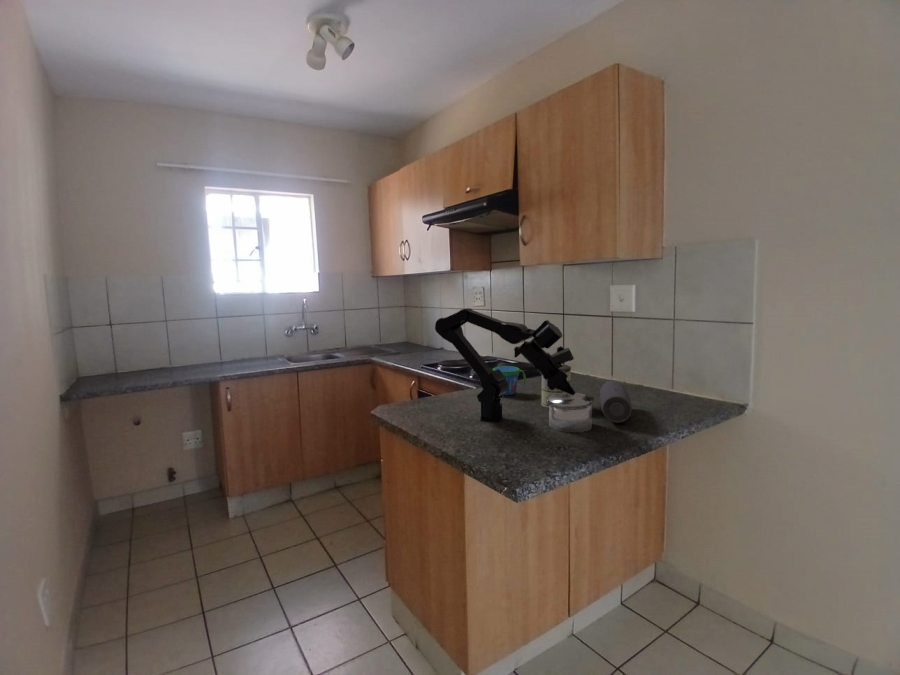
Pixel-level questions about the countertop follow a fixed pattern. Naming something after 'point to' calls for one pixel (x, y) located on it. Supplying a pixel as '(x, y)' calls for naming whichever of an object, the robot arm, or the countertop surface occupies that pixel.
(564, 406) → the cooker lid
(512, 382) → the snack cup
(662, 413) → the countertop surface
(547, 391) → the coffee can
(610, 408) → the bluetooth speaker
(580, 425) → the grey round canister
